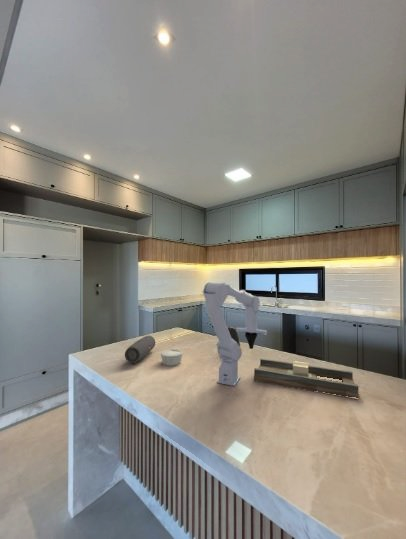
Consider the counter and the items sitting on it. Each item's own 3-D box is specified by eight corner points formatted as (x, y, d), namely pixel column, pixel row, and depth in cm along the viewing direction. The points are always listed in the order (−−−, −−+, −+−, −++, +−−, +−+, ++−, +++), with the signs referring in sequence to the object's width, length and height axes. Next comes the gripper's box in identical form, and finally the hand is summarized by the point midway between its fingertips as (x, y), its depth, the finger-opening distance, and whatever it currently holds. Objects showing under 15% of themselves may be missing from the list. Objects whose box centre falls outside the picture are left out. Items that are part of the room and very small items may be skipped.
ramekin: (184, 359, 131) (184, 349, 132) (180, 367, 120) (180, 356, 120) (164, 358, 133) (164, 348, 133) (158, 366, 121) (158, 355, 122)
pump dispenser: (235, 356, 135) (235, 329, 135) (219, 353, 141) (219, 327, 141) (243, 352, 143) (243, 326, 143) (228, 348, 149) (228, 324, 150)
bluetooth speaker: (140, 366, 121) (141, 346, 122) (123, 365, 123) (123, 345, 123) (156, 351, 144) (156, 334, 144) (141, 350, 145) (141, 334, 145)
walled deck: (358, 399, 89) (358, 387, 89) (253, 380, 105) (253, 370, 105) (351, 381, 105) (351, 370, 105) (261, 366, 121) (261, 357, 121)
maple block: (308, 379, 101) (308, 367, 101) (292, 377, 104) (292, 365, 104) (308, 374, 107) (308, 363, 107) (293, 372, 109) (293, 360, 109)
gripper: (268, 320, 118) (268, 347, 118) (239, 317, 124) (239, 344, 124) (265, 322, 111) (265, 352, 111) (235, 320, 118) (235, 348, 117)
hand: (251, 348), depth 117 cm, fingers closed
